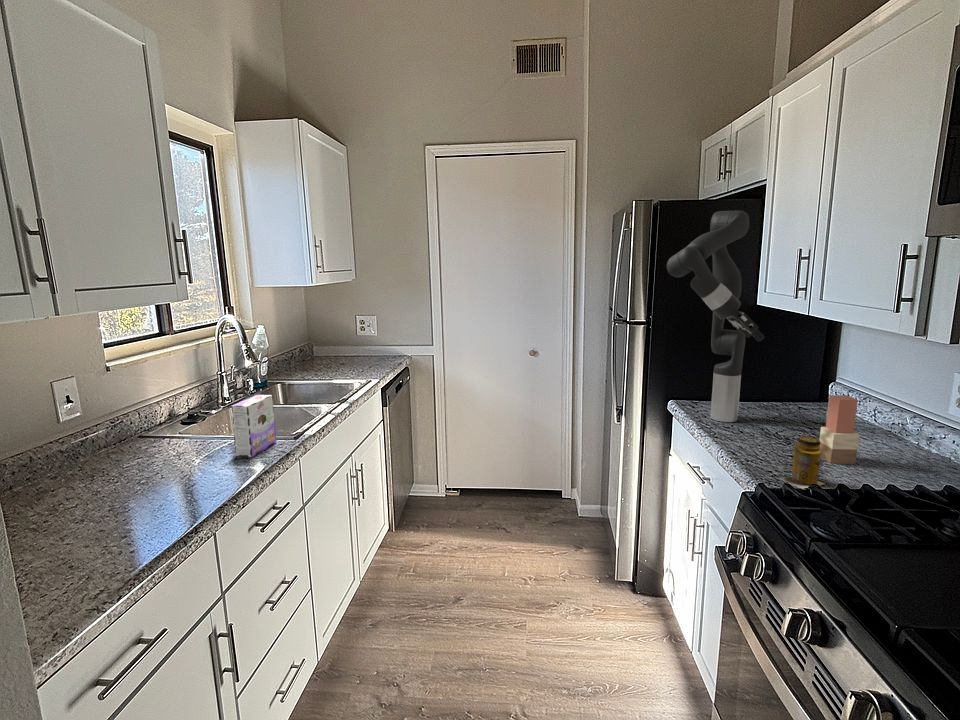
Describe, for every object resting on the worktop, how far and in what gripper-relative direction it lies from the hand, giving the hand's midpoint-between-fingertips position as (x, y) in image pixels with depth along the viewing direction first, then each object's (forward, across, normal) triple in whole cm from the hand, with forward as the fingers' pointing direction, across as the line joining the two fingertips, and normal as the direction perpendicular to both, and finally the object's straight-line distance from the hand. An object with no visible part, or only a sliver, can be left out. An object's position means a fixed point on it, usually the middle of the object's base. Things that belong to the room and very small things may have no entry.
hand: (756, 337), depth 168 cm
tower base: (+40, -12, +10) cm, 42 cm away
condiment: (+27, -29, +23) cm, 46 cm away
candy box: (-86, -14, +135) cm, 161 cm away
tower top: (+36, -12, +6) cm, 39 cm away
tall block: (+33, -11, +3) cm, 35 cm away
